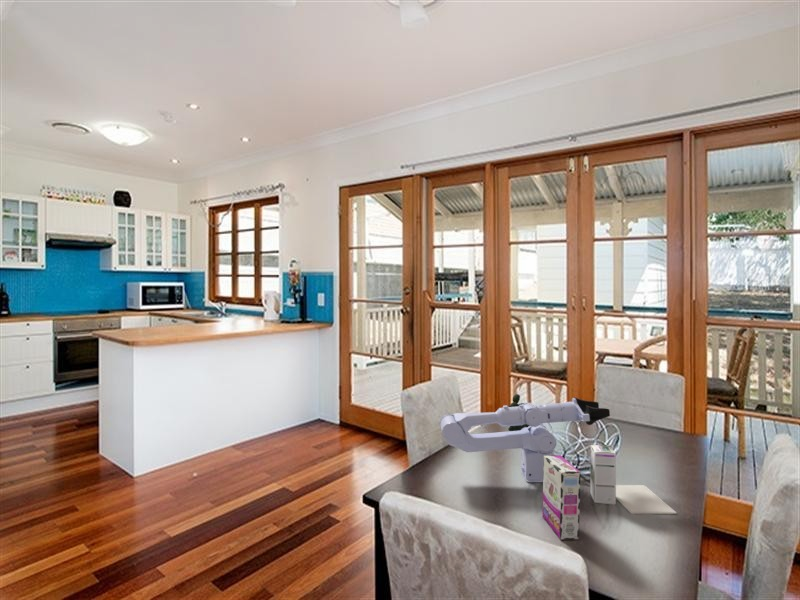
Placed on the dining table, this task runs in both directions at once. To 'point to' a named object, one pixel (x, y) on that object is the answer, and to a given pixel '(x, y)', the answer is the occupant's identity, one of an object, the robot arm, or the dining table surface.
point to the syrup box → (603, 474)
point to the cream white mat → (641, 500)
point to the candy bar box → (561, 497)
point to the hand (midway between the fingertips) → (603, 408)
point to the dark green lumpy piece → (514, 404)
